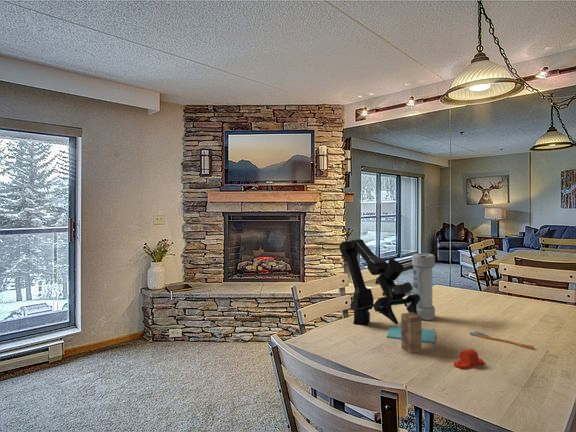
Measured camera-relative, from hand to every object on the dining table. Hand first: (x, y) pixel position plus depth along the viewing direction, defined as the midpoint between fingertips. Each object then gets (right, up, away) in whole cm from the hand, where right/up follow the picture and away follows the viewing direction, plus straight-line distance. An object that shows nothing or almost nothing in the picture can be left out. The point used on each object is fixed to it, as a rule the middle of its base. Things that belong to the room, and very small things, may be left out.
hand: (407, 322), depth 133 cm
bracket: (+16, -10, -14) cm, 24 cm away
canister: (+20, -9, +36) cm, 42 cm away
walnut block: (+1, -10, -2) cm, 10 cm away
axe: (+39, -10, +7) cm, 41 cm away
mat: (+6, -9, +14) cm, 18 cm away
